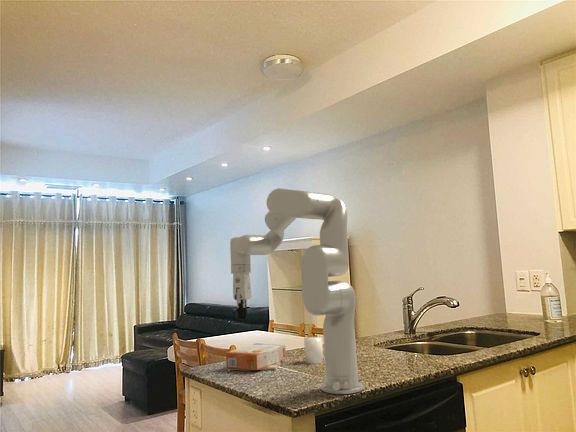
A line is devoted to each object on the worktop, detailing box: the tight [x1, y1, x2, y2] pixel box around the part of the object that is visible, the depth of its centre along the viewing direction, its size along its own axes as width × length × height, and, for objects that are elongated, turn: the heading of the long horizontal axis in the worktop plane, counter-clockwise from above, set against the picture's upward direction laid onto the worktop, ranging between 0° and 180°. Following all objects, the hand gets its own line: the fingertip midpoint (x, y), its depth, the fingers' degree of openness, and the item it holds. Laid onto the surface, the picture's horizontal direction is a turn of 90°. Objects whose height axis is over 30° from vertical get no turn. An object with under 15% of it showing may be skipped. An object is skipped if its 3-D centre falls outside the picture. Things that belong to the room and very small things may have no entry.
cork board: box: [226, 360, 283, 371], centre depth 167 cm, size 16×18×1 cm
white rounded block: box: [303, 336, 324, 365], centre depth 170 cm, size 7×7×9 cm
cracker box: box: [225, 342, 287, 370], centre depth 167 cm, size 14×6×21 cm
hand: (242, 318), depth 164 cm, fingers closed
